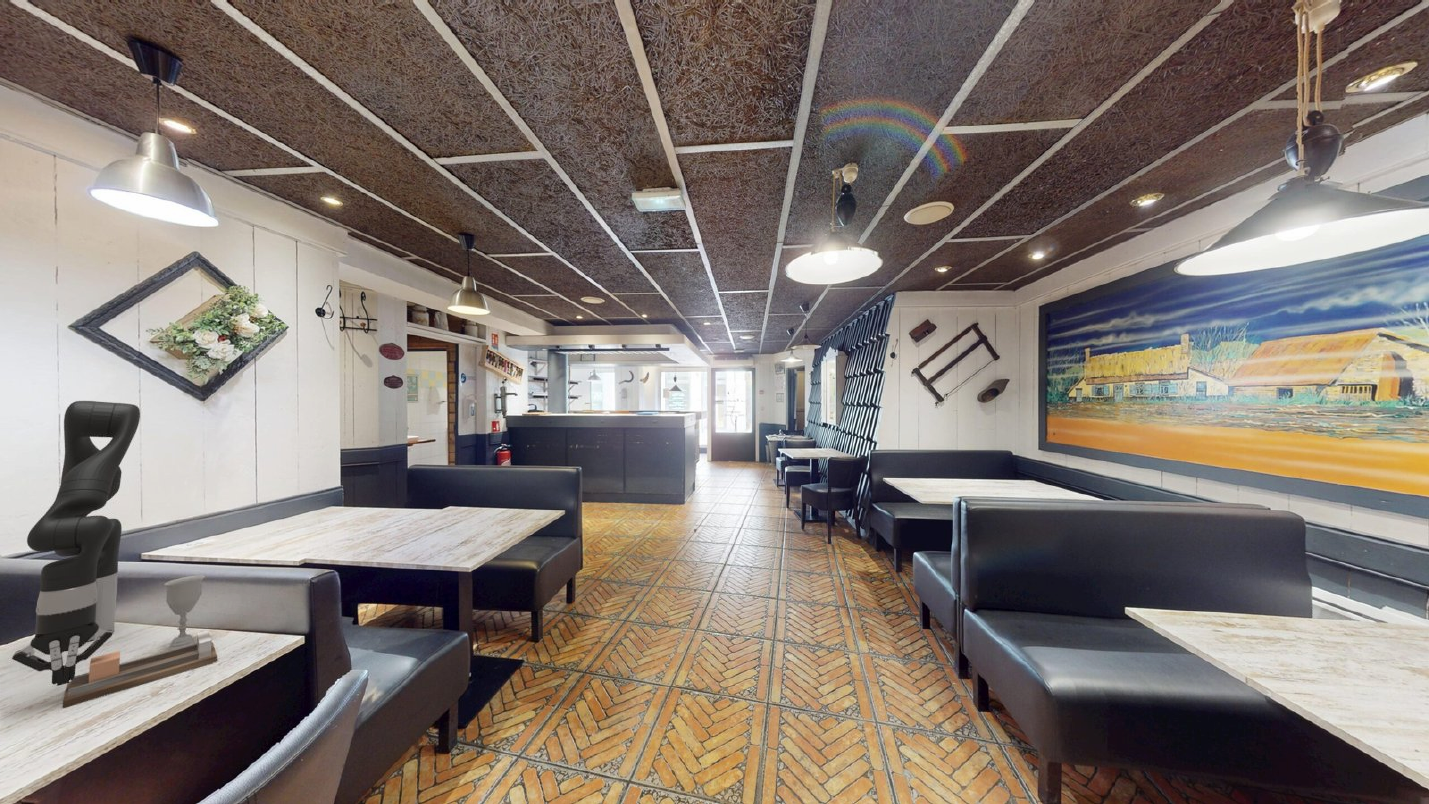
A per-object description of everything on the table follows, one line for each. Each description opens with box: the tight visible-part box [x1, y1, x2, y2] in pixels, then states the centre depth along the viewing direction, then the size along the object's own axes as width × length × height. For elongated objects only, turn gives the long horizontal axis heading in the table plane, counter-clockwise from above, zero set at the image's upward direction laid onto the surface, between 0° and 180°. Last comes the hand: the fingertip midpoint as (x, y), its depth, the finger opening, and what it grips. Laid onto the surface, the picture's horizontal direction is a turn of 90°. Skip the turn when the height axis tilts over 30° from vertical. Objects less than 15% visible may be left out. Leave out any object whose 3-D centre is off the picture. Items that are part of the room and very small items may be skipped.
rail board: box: [62, 630, 218, 709], centre depth 105 cm, size 11×22×6 cm, turn 144°
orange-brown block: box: [88, 650, 121, 683], centre depth 100 cm, size 5×4×5 cm
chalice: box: [163, 574, 206, 651], centre depth 118 cm, size 7×7×18 cm
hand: (63, 683), depth 96 cm, fingers closed
